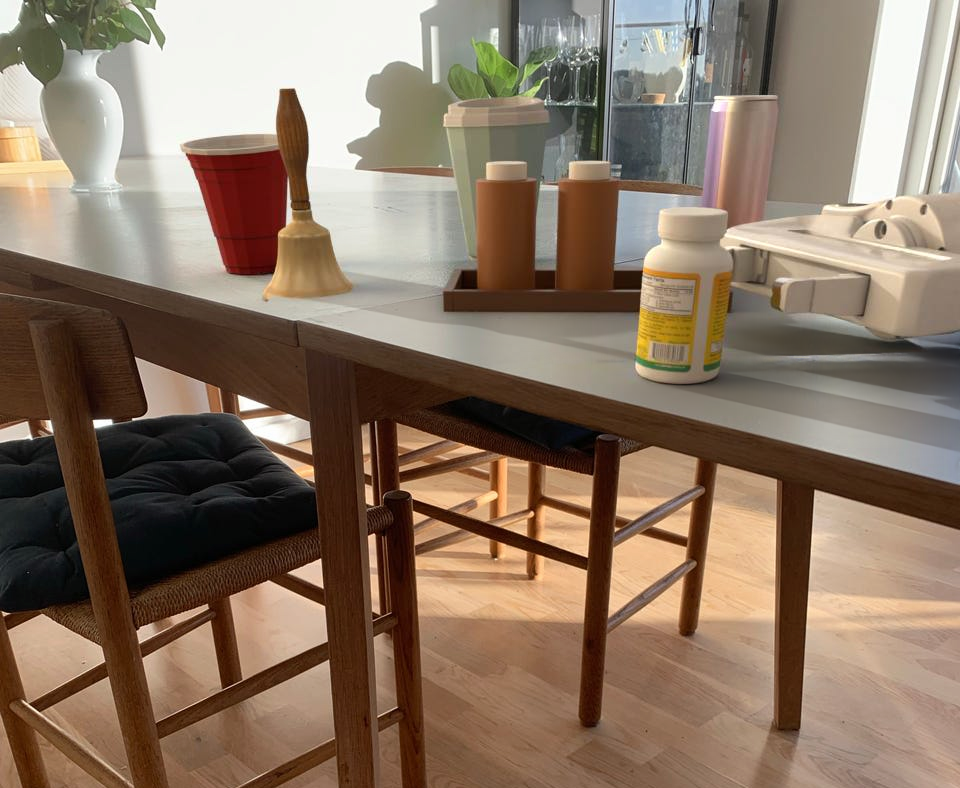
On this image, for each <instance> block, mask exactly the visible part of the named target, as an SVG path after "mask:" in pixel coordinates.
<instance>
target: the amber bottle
mask: <svg viewBox="0 0 960 788" xmlns="http://www.w3.org/2000/svg"><path fill="white" fill-rule="evenodd" d="M610 174H611V162H610V161H605V160H576V161H569V163H568V177H561V178H559V179H558V184H557V214H556V215H557V216H556V217H557V218H556V244H555V245H556V246H555V248H556V249H555V269H556V277H555V290H613V280H614V269H615V263H616V262H615V261H616V248H617V247H616V245H617V228H618V214H619V213H618V212H619V195H620V181H621V180H620V178H617V177H611V176H610Z"/></svg>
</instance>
